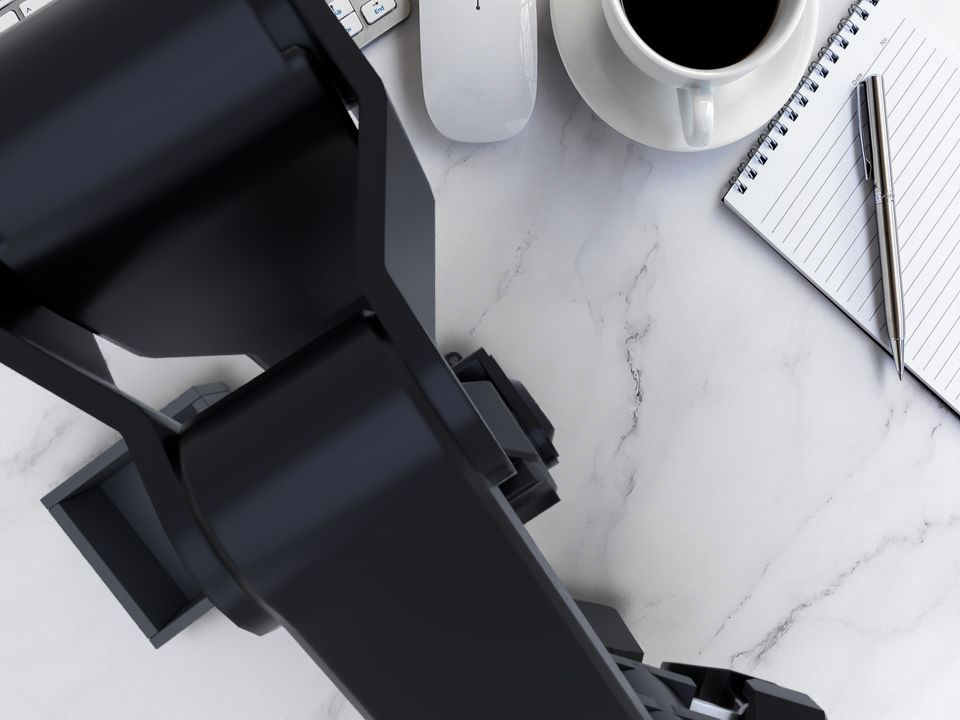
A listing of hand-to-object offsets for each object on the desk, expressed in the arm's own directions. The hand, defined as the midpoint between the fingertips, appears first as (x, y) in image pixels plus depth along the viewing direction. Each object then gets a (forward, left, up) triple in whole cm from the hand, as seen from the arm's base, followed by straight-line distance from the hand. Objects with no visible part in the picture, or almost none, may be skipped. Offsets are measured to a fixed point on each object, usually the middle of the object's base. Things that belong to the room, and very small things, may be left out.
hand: (582, 646), depth 47 cm
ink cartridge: (0, 0, -6) cm, 6 cm away
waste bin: (+13, -19, -5) cm, 24 cm away
